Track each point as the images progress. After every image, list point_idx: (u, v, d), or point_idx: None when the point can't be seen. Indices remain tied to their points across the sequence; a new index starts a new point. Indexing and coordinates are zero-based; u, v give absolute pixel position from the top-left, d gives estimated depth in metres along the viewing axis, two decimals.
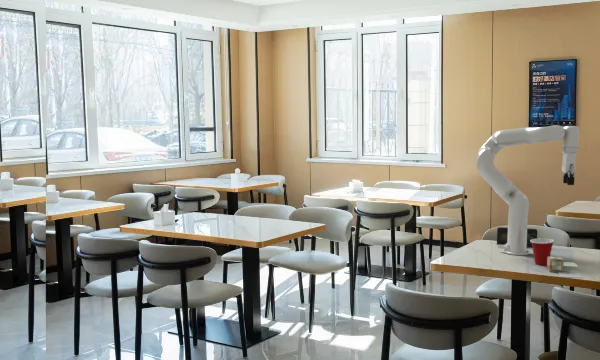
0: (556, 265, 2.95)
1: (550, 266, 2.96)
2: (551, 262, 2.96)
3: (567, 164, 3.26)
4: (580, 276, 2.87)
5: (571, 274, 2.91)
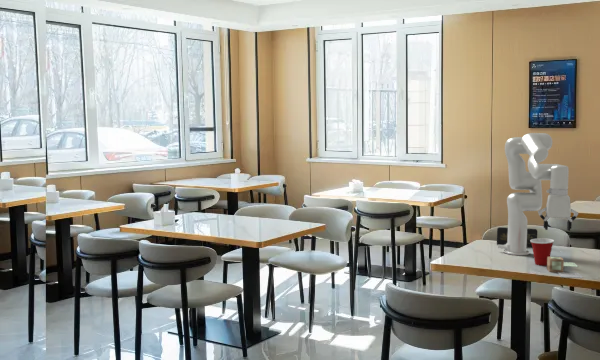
0: (556, 265, 2.95)
1: (550, 266, 2.96)
2: (551, 262, 2.96)
3: (570, 208, 2.94)
4: (580, 276, 2.87)
5: (571, 274, 2.91)
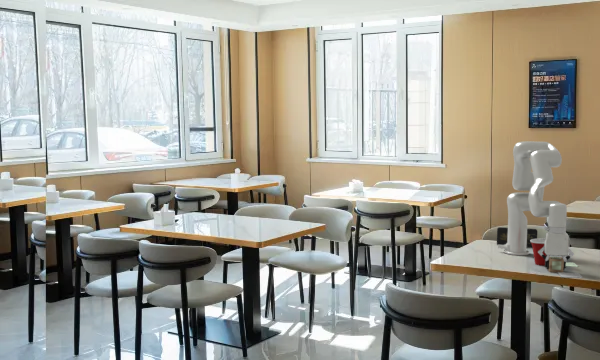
0: (556, 265, 2.95)
1: (550, 266, 2.96)
2: (551, 262, 2.96)
3: (568, 246, 2.95)
4: (580, 276, 2.87)
5: (571, 274, 2.91)
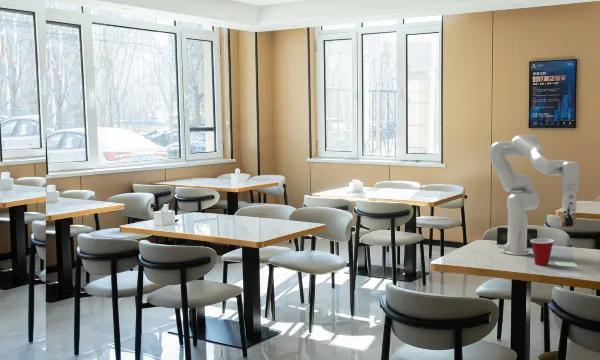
0: None
1: (575, 222, 3.08)
2: (575, 218, 3.08)
3: None
4: (580, 276, 2.87)
5: (571, 274, 2.91)
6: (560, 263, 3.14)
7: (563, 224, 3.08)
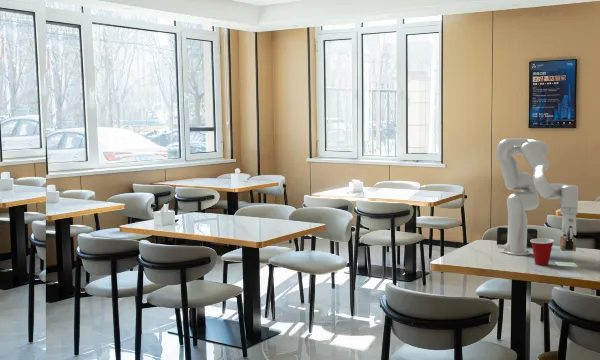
0: None
1: (575, 245, 3.09)
2: (575, 241, 3.09)
3: None
4: (580, 276, 2.87)
5: (571, 274, 2.91)
6: (560, 263, 3.14)
7: (563, 248, 3.09)
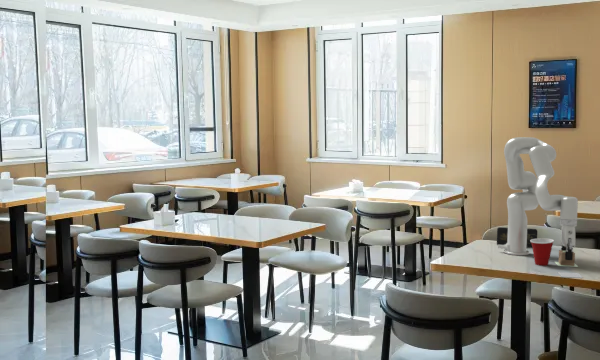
0: None
1: None
2: (574, 256, 3.10)
3: None
4: (580, 276, 2.87)
5: (571, 274, 2.91)
6: None
7: (562, 262, 3.10)
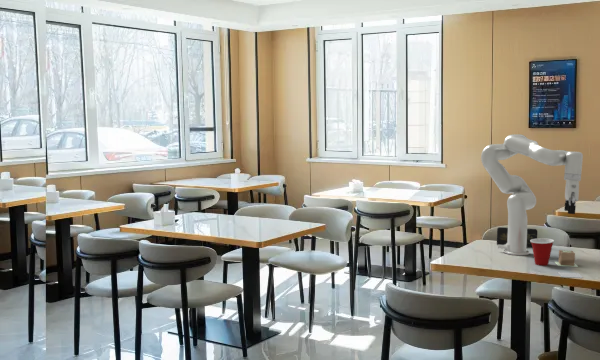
0: None
1: None
2: (574, 256, 3.10)
3: None
4: (580, 276, 2.87)
5: (571, 274, 2.91)
6: None
7: (562, 262, 3.10)
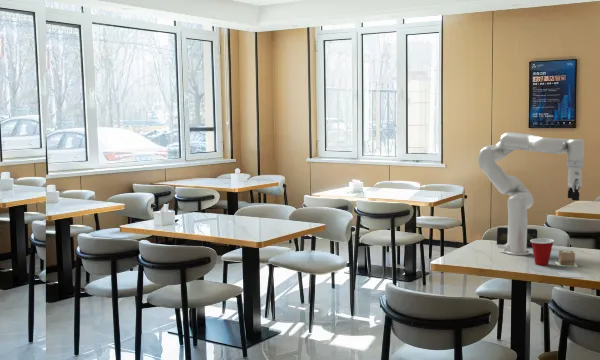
0: None
1: None
2: (574, 256, 3.10)
3: None
4: (580, 276, 2.87)
5: (571, 274, 2.91)
6: None
7: (562, 262, 3.10)
